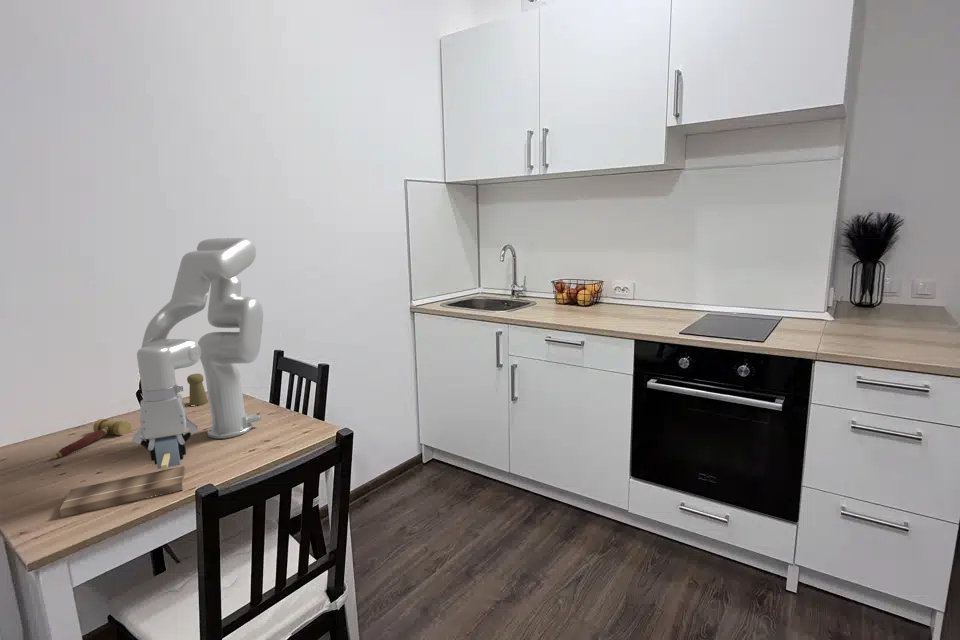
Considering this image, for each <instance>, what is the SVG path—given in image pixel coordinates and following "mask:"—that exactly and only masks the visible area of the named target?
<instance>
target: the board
mask: <svg viewBox="0 0 960 640" xmlns="http://www.w3.org/2000/svg"><path fill="white" fill-rule="evenodd" d="M184 476H186V469H185V465H183V466H177V467H174V468H169V469H168V468H167V469H166V470H164V469H161V470H159V471H154V472H148V473H143V474H138V475H134V476H130V477H129V476H128V477H124V478H120V479H115V480H110V481H109V480H108V481H104V482H99V483H95V484H91V485H85V486H80V487H76V488H72V489H70V490H69V492H68V494H67V496H66V498H65V499H64V500H63V502H62V504H61V507H59V512H60V517H61V518H65V517H69V516H75V515H78V514H82V513H87V512H91V511H97V510H101V509H105V508H109V507H113V506H119V505H122V504H123V505H124V504H127V503H132V502H131V501H133V502H136V501H135V500H137V501H140V500H139V499H142V500H144V499H143V498H146V499H148V498H147V497H151V496H155V495H160V494H164V495H167V494H166V493H169V494H171V493H170V492H173V493H175V492H174V491H178V492H180V491H179V490H182V491H183V490H184V485H183V483H185V478H184ZM160 496H161V495H160ZM155 497H156V496H155ZM151 498H152V497H151Z"/></svg>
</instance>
